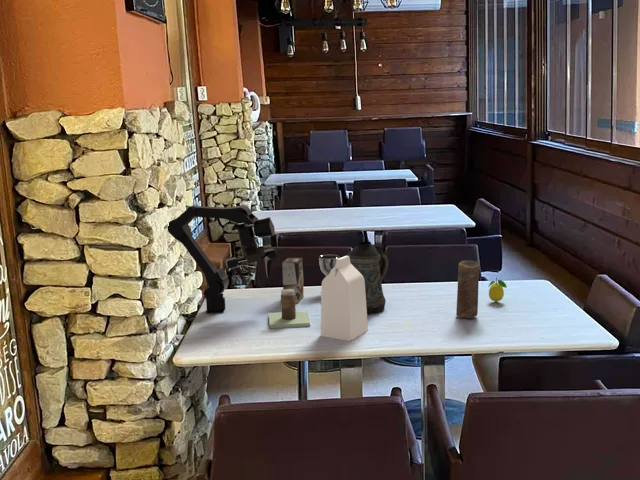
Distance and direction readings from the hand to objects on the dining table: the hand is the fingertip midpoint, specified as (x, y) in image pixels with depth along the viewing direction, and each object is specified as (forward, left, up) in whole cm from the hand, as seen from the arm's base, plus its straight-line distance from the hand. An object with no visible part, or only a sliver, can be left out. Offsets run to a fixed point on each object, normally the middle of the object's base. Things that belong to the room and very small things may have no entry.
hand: (256, 280), depth 264 cm
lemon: (+90, -3, -12) cm, 91 cm away
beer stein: (+40, -1, -12) cm, 42 cm away
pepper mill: (+11, -13, -11) cm, 20 cm away
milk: (+29, -29, -12) cm, 43 cm away
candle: (+74, -19, -12) cm, 78 cm away
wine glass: (+29, +22, -12) cm, 38 cm away
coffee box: (+14, +14, -12) cm, 23 cm away
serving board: (+11, -13, -12) cm, 21 cm away
